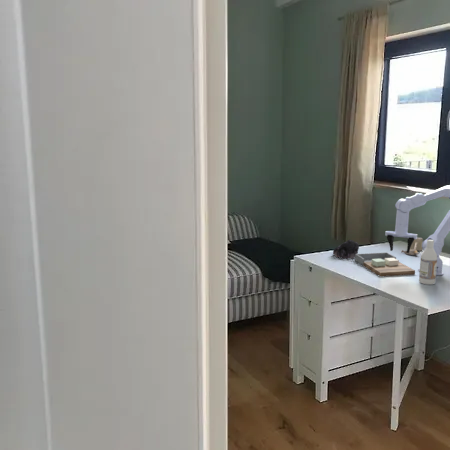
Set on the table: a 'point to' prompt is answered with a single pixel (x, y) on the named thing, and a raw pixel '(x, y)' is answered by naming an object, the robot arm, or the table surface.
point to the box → (371, 257)
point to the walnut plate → (390, 269)
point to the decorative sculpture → (415, 247)
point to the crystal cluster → (346, 250)
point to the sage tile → (378, 262)
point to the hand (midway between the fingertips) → (399, 251)
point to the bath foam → (428, 264)
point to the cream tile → (391, 261)
